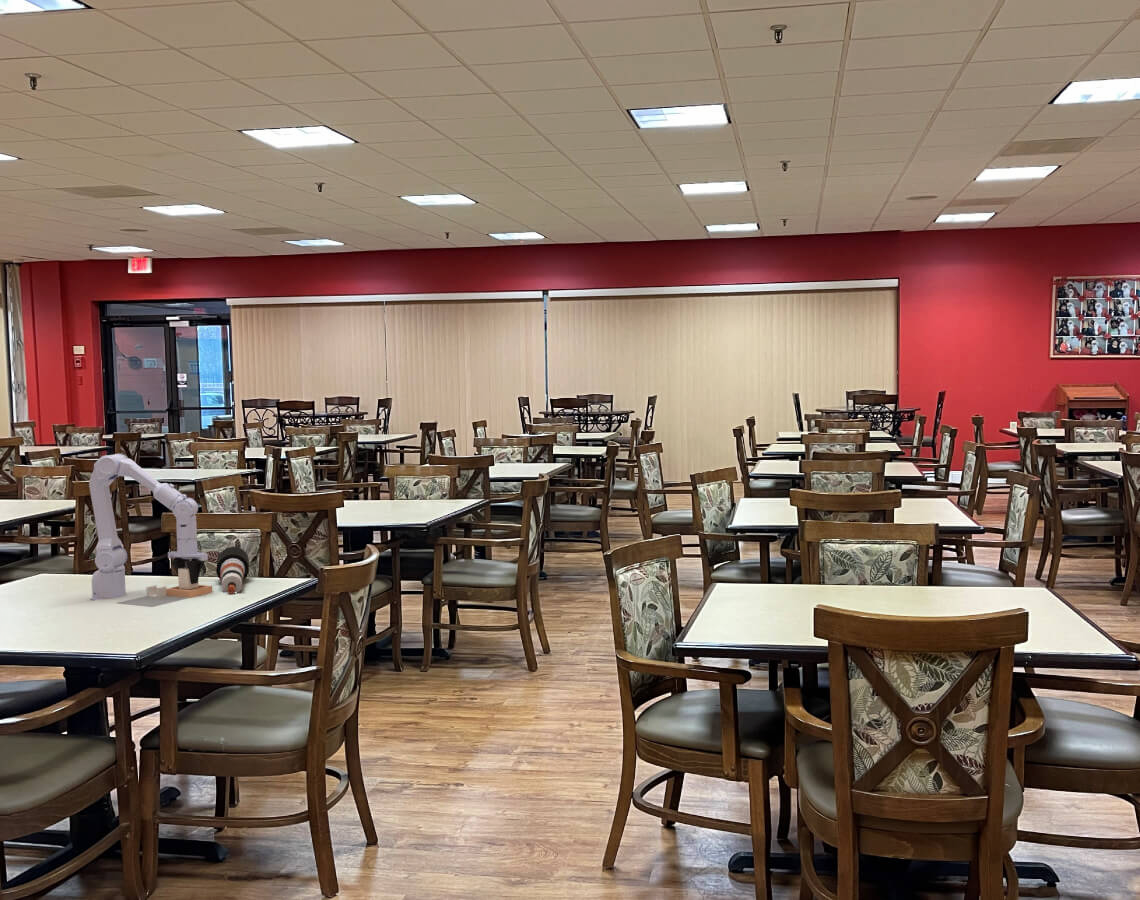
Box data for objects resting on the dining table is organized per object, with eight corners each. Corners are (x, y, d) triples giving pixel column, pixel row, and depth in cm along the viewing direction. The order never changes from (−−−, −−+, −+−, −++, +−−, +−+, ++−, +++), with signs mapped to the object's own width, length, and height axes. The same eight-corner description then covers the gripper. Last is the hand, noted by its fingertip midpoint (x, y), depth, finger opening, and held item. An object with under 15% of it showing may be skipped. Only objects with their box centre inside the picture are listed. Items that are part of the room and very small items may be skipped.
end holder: (165, 595, 311) (165, 588, 311) (188, 590, 319) (188, 583, 319) (189, 597, 306) (189, 591, 306) (212, 592, 315) (212, 585, 314)
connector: (178, 588, 312) (177, 562, 311) (189, 585, 315) (188, 560, 315) (188, 589, 310) (187, 562, 309) (198, 586, 313) (197, 560, 313)
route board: (115, 606, 301) (115, 603, 301) (179, 591, 322) (179, 588, 322) (152, 610, 294) (152, 606, 294) (215, 594, 315) (214, 591, 315)
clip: (146, 597, 309) (146, 587, 309) (154, 595, 312) (154, 585, 311) (158, 598, 307) (158, 588, 306) (166, 596, 309) (166, 586, 309)
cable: (224, 612, 311) (207, 585, 308) (227, 581, 343) (211, 556, 340) (255, 595, 313) (238, 568, 310) (254, 566, 345) (239, 541, 342)
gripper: (159, 539, 311) (161, 583, 312) (194, 541, 305) (196, 586, 306) (177, 536, 318) (179, 579, 318) (212, 538, 311) (214, 582, 312)
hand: (188, 582), depth 313 cm, fingers closed on connector, 4 cm apart
